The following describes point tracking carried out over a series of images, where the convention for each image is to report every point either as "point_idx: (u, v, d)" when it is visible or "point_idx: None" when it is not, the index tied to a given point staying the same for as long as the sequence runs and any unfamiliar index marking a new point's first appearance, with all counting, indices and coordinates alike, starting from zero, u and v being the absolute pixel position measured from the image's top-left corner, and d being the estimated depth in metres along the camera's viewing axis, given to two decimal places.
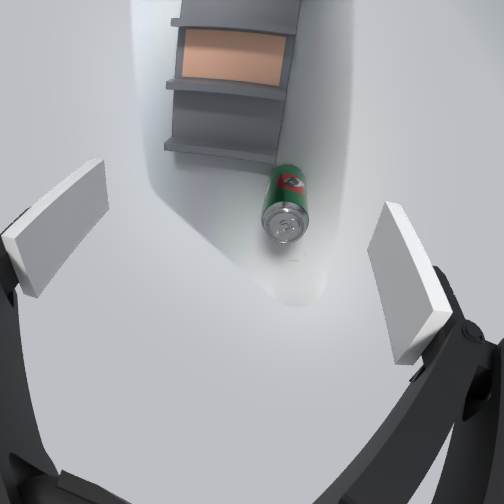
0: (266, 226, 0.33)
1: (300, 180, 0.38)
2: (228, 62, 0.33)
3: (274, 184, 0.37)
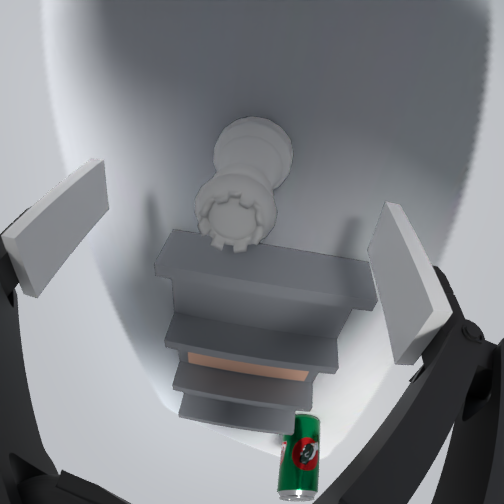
0: (281, 498, 0.30)
1: (315, 442, 0.35)
2: None
3: (290, 455, 0.33)
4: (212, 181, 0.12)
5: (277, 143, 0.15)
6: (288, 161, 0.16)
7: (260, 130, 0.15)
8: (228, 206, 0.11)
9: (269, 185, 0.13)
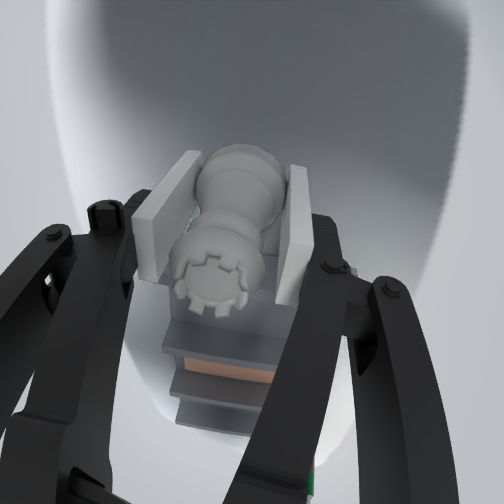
0: None
1: None
2: (240, 367, 0.30)
3: None
4: (187, 236, 0.10)
5: (268, 176, 0.14)
6: (281, 196, 0.14)
7: (249, 160, 0.13)
8: (206, 267, 0.09)
9: (257, 234, 0.11)
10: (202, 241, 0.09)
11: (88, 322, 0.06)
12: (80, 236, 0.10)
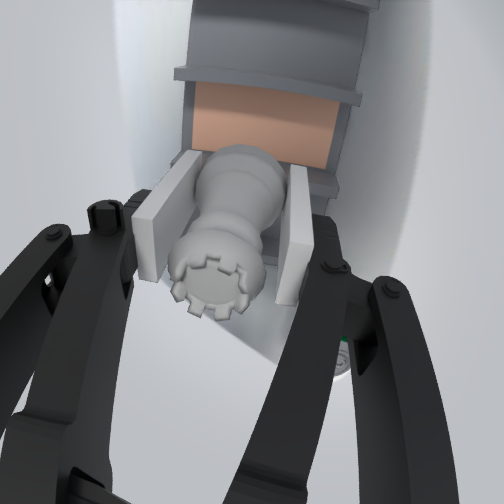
0: None
1: None
2: (257, 133, 0.26)
3: None
4: (186, 238, 0.09)
5: (268, 177, 0.14)
6: (281, 198, 0.14)
7: (248, 162, 0.13)
8: (206, 270, 0.09)
9: (257, 236, 0.11)
10: (201, 243, 0.09)
11: (88, 322, 0.06)
12: (80, 236, 0.10)
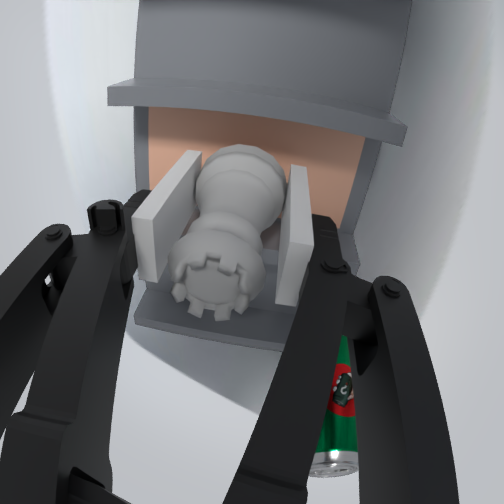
0: None
1: None
2: None
3: None
4: (186, 238, 0.09)
5: (268, 177, 0.14)
6: (281, 198, 0.14)
7: (248, 162, 0.13)
8: (205, 270, 0.09)
9: (257, 236, 0.11)
10: (201, 244, 0.09)
11: (89, 322, 0.06)
12: (80, 236, 0.10)
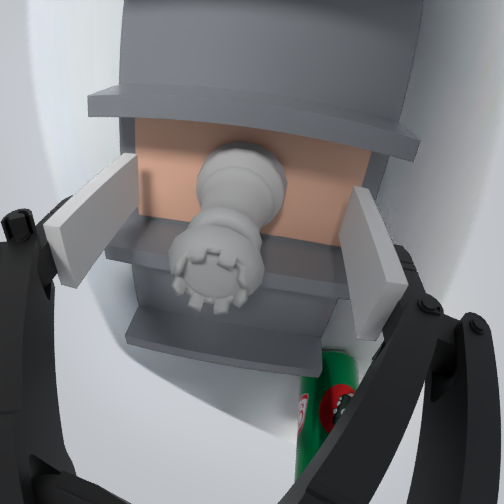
0: None
1: None
2: None
3: (316, 416, 0.20)
4: (187, 233, 0.10)
5: (268, 174, 0.14)
6: (281, 194, 0.14)
7: (249, 159, 0.13)
8: (205, 264, 0.10)
9: (256, 232, 0.11)
10: (201, 238, 0.09)
11: (18, 321, 0.06)
12: (5, 243, 0.09)
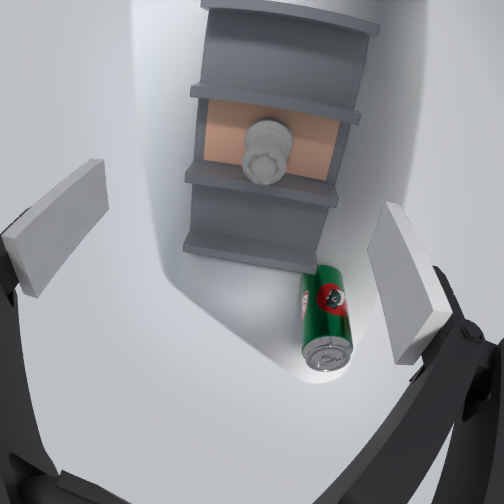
0: (307, 359, 0.29)
1: (341, 290, 0.34)
2: None
3: (314, 301, 0.32)
4: (253, 146, 0.22)
5: (284, 132, 0.26)
6: (290, 144, 0.26)
7: (275, 124, 0.26)
8: (262, 159, 0.22)
9: (281, 152, 0.23)
10: (260, 148, 0.21)
11: None
12: None
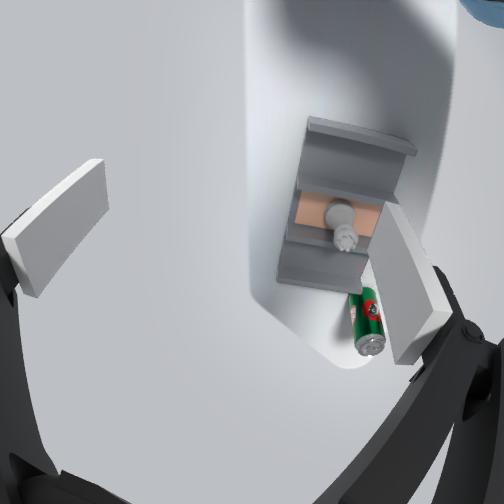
0: (359, 348, 0.45)
1: (376, 304, 0.50)
2: None
3: (361, 312, 0.49)
4: (341, 230, 0.38)
5: (352, 212, 0.42)
6: (354, 218, 0.43)
7: (346, 207, 0.42)
8: (346, 238, 0.38)
9: (354, 230, 0.40)
10: (346, 232, 0.38)
11: None
12: None
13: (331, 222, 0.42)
